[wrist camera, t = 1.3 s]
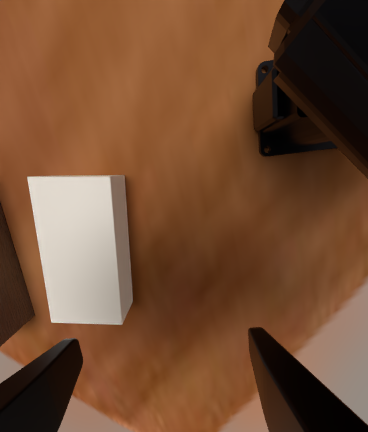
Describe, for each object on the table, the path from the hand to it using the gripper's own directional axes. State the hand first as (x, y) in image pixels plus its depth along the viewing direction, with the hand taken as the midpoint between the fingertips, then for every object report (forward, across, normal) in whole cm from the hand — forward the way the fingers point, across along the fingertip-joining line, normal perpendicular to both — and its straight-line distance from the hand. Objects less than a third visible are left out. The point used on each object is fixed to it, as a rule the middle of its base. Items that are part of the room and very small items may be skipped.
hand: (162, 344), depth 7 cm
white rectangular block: (+12, +8, 0) cm, 15 cm away
